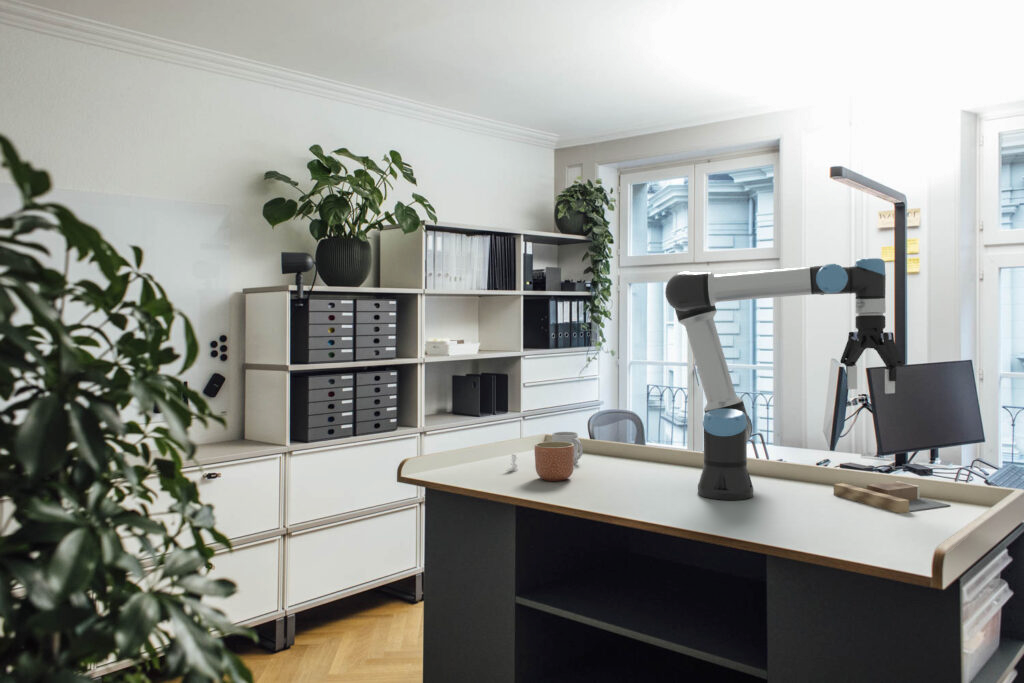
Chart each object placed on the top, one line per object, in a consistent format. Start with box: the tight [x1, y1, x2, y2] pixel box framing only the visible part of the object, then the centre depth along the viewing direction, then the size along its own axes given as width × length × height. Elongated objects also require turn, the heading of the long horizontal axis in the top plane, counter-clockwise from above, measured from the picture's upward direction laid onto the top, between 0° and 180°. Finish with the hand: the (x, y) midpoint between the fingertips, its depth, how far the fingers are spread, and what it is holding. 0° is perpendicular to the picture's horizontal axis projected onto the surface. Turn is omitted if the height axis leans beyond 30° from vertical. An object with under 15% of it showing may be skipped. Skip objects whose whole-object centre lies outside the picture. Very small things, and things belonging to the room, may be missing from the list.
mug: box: [551, 431, 584, 465], centre depth 264 cm, size 11×10×10 cm
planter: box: [533, 440, 575, 482], centre depth 237 cm, size 12×12×11 cm
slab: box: [866, 480, 921, 501], centre depth 204 cm, size 7×4×11 cm
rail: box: [833, 482, 909, 514], centre depth 201 cm, size 22×3×3 cm, turn 21°
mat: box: [908, 497, 951, 513], centre depth 204 cm, size 22×14×1 cm, turn 21°
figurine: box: [506, 453, 519, 473], centre depth 251 cm, size 8×8×6 cm
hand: (870, 391), depth 211 cm, fingers open, 13 cm apart
